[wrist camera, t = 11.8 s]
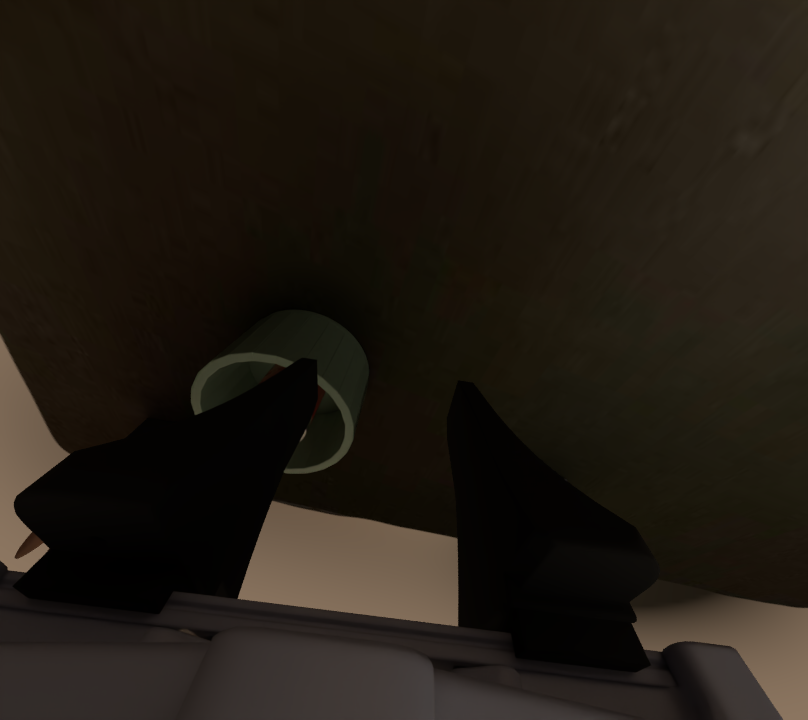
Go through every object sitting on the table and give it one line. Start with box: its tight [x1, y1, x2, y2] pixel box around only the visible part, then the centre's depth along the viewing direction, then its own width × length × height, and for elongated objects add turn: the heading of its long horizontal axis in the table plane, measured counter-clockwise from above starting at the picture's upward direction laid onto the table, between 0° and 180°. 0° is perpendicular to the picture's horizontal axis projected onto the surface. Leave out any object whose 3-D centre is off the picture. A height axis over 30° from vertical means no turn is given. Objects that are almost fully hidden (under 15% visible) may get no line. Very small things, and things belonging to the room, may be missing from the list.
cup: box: [191, 310, 369, 474], centre depth 21 cm, size 10×10×6 cm
